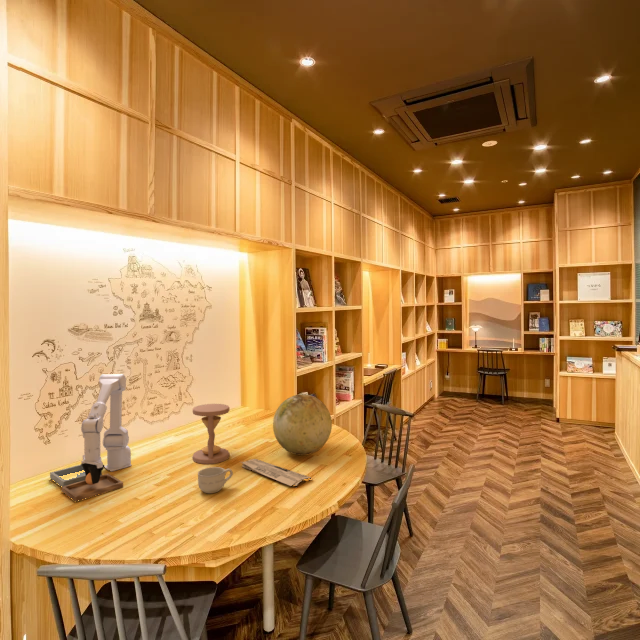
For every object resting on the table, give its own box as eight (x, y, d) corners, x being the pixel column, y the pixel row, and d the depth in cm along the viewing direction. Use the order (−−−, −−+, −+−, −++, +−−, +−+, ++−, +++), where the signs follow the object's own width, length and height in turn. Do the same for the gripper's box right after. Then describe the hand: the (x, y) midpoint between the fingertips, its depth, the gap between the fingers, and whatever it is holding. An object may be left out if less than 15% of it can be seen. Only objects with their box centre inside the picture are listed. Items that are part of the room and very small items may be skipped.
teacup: (197, 497, 162) (197, 477, 162) (197, 486, 172) (197, 467, 172) (233, 493, 166) (233, 473, 166) (232, 482, 176) (232, 463, 176)
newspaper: (312, 481, 179) (312, 473, 179) (292, 491, 169) (292, 482, 169) (256, 462, 201) (256, 455, 201) (236, 469, 191) (236, 462, 191)
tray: (107, 478, 180) (107, 473, 180) (123, 487, 171) (123, 482, 171) (61, 492, 166) (61, 486, 166) (75, 502, 157) (75, 497, 157)
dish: (87, 469, 190) (87, 462, 190) (101, 477, 180) (101, 470, 180) (50, 479, 178) (50, 472, 178) (63, 489, 169) (63, 481, 169)
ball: (96, 480, 172) (96, 468, 172) (101, 484, 169) (101, 471, 169) (83, 484, 168) (83, 472, 168) (88, 488, 165) (88, 475, 165)
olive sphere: (287, 441, 232) (287, 387, 231) (338, 447, 222) (339, 391, 221) (262, 459, 204) (262, 398, 203) (320, 467, 194) (320, 403, 193)
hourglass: (224, 464, 197) (224, 411, 196) (188, 464, 197) (187, 411, 196) (232, 451, 215) (232, 403, 214) (198, 451, 214) (198, 403, 214)
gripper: (74, 446, 170) (74, 479, 170) (89, 454, 161) (89, 489, 161) (92, 442, 175) (93, 474, 176) (108, 449, 166) (108, 483, 166)
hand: (92, 481), depth 169 cm, fingers closed on ball, 5 cm apart
